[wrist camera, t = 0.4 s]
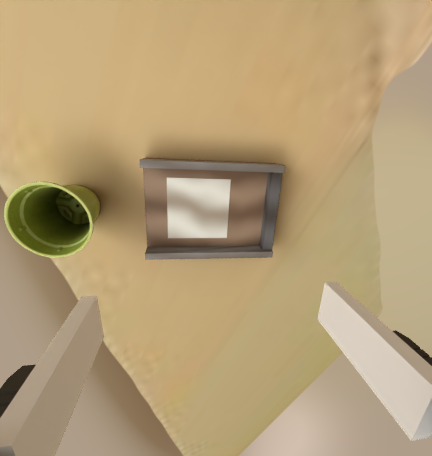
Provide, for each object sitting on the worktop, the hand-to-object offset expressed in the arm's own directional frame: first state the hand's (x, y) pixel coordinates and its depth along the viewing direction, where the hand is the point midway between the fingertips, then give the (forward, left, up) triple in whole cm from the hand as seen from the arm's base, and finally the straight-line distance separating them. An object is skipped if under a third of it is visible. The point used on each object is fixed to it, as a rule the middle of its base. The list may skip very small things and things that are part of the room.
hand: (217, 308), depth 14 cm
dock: (+1, +2, -26) cm, 26 cm away
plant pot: (+1, -18, -26) cm, 32 cm away
